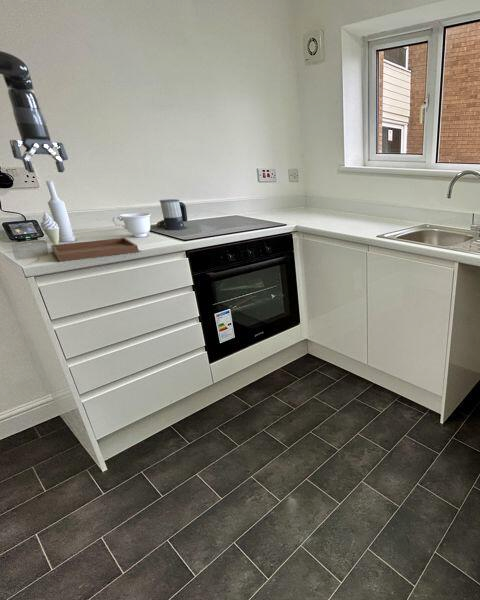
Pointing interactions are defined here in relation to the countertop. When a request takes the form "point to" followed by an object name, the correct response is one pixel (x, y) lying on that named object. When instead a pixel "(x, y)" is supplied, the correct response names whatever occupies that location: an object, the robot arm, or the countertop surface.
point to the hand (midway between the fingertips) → (46, 172)
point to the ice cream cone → (50, 228)
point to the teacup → (135, 223)
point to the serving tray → (93, 249)
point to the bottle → (60, 215)
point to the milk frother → (173, 214)
